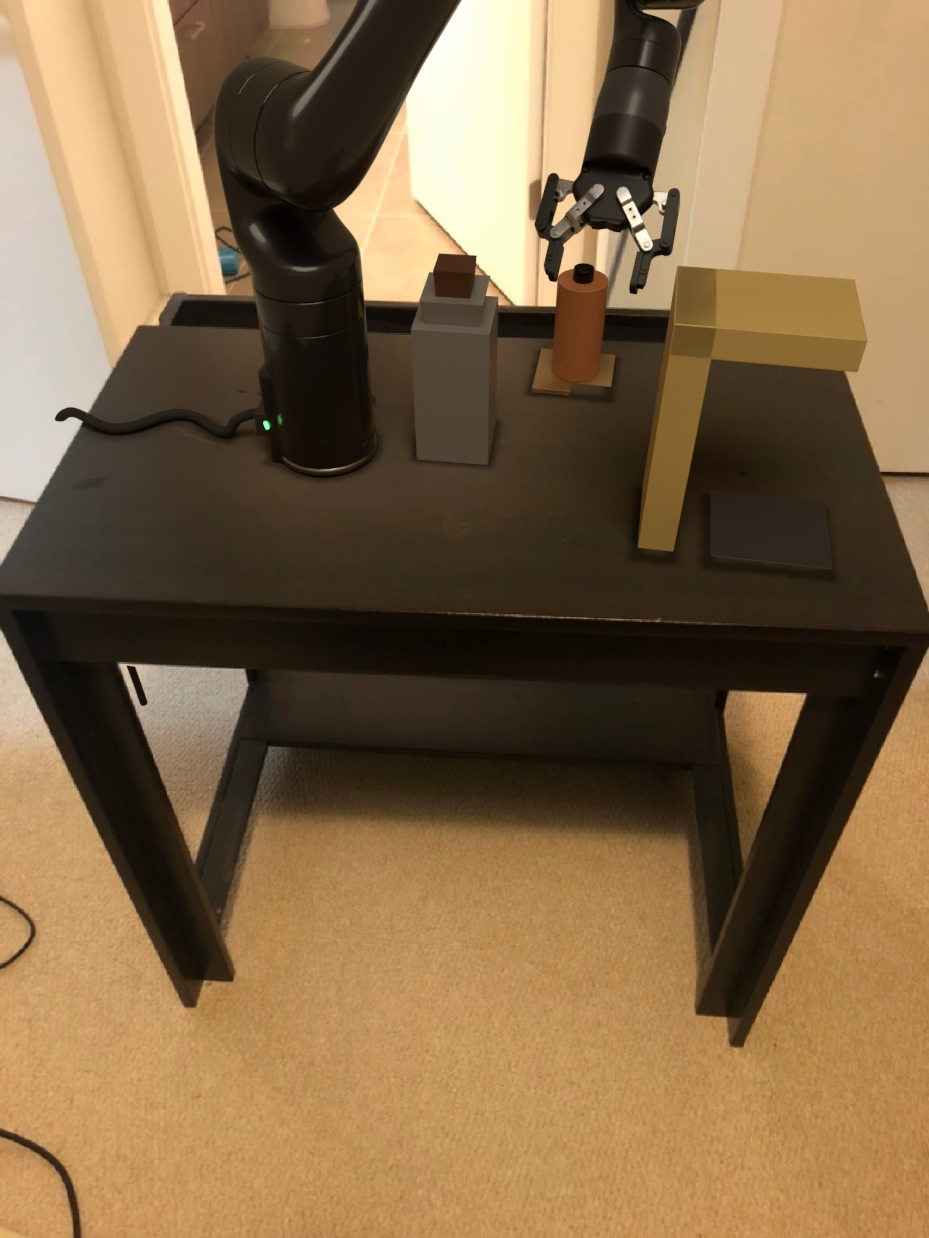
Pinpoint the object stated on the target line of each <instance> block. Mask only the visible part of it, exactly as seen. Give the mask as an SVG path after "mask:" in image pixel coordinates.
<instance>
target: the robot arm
mask: <svg viewBox="0 0 929 1238" xmlns="http://www.w3.org/2000/svg"><path fill="white" fill-rule="evenodd" d="M461 2H463V0H356V3H355V5H354V7H353V9H352V11H351V13H350V14H349V17H348V18H347V19H346V21H345V23H344V24H343V26H342V28H341V29H340V31H339V33H338V34H337V36H336V37H335V39H334V41H333V42H332V44H331V45H330V47H329V48H328V50H327V51H326V53H324V56H322V58H321V59H320V60H319V61H318V63H317V64H316V65H315V66H314V68H313V69H310V68H307V67H304V66H302V65H299V64H296V63H294V62H292V61H288V60H285V59H282V58H279V57H276V56H267V55H258V56H252V57H249V58H246V59H245V60H243V61H240V62H239V63H237V64H236V65H235V66H234V67H233V68H231V70H229V72H228V73H227V74H226V76H225V78H224V79H223V80H222V83H221V84H220V87H219V89H218V92H217V95H216V98H215V103H214V107H213V108H214V109H213V121H212V123H213V124H212V128H213V130H212V131H213V143H214V151H215V155H216V161H217V167H218V172H219V176H220V177H219V178H220V181H221V182H220V183H221V186H222V191H223V195H224V200H225V204H226V209H227V212H228V218H229V222H230V226H231V227H230V228H231V232H232V234H233V238H234V242H235V244H236V247H237V249H238V250H239V253H240V255H241V256H242V258H243V260H244V261H245V263H246V265H247V267H248V271H249V276H250V281H251V286H252V291H253V292H252V293H253V297H254V298H253V299H254V304H255V310H256V316H257V322H258V328H259V335H260V339H261V340H260V341H261V346H262V352H263V353H262V354H263V359H264V361H263V363H262V364H261V366H260V368H259V369H258V373H257V377H258V384H259V389H260V395H261V400H260V402H259V404H258V405H257V407H254V408H250V409H246V410H242V411H240V412H238V413H236V414H233V416H231V417H230V418H229V421H228V422H227V424H226V425H225V426H222V425H221V426H220V425H218V424H216V423H215V422H213V421H212V420H211V419H209V417H207V416H205V415H204V414H202V413H200V412H198V411H195V410H191V409H187V408H172V409H166V410H162V411H159V412H156V413H155V412H154V413H153V414H150V415H146V416H144V417H142V418H139V419H135V420H132V421H131V420H130V421H128V422H127V421H126V422H109V421H105V420H102V419H100V418H98V417H96V416H94V415H92V414H90V413H88V411H87V412H86V411H85V410H83V409H80V408H77V407H73V406H68V407H65V408H63V409H61V410H59V411H58V412H57V413H56V414H55V417H54V421H56V422H59V423H60V422H66V421H67V420H68V419H69V418H74V419H77V420H79V421H81V422H83V423H84V424H86V425H88V426H90V427H92V428H94V429H96V430H99V431H102V432H105V433H110V434H127V433H132V432H136V431H140V430H143V429H146V428H149V427H152V426H154V425H157V424H161V423H163V422H166V421H171V420H181V419H183V420H190V421H192V422H195V423H196V424H198V425H200V426H201V427H202V428H203V429H205V430H206V431H207V432H209V433H210V434H212V435H215V436H216V437H221V438H227V437H231V436H232V435H234V434H236V432H237V429H238V428H239V426H240V425H241V424H243V423H245V422H247V421H251V420H254V423H255V424H254V425H255V430H256V435H257V436H265V437H268V440H269V447H270V452H271V458H272V461H273V462H280V463H283V464H284V465H286V466H287V467H288V468H289V469H292V470H293V471H295V472H297V473H300V474H304V475H307V476H308V475H309V476H315V477H331V476H338V475H342V474H346V473H349V472H352V471H355V470H357V469H359V468H361V467H362V466H364V465H365V464H366V463H368V462H369V461H370V460H372V458H373V456H374V455H375V453H376V452H377V448H378V447H377V446H378V440H377V439H378V438H377V434H376V423H375V415H374V407H375V408H377V398H376V397H375V396H374V395H373V388H372V377H371V376H372V375H371V364H370V363H371V362H370V352H369V351H370V350H369V339H368V329H367V328H368V326H367V325H368V324H367V315H366V314H367V313H366V302H365V290H364V277H363V268H362V267H363V266H362V256H361V249H360V245H359V243H358V240H357V239H356V237H355V236H354V234H353V233H352V232H351V230H350V229H349V228H348V227H347V226H346V224H344V222H343V221H342V220H341V218H340V217H339V215H338V214H337V212H336V211H335V208H336V207H339V206H340V205H342V204H343V203H344V202H346V201H347V199H349V198H350V197H351V196H352V195H353V193H355V192H356V190H357V189H358V187H360V185H361V183H362V182H363V181H364V180H365V177H366V176H367V175H368V172H370V169H371V167H372V166H373V164H374V161H375V160H376V158H377V157H378V155H379V153H380V151H381V149H382V147H383V145H384V143H385V141H386V139H387V137H388V135H389V133H390V131H391V130H392V127H393V125H394V123H395V122H396V119H397V117H398V115H399V113H400V111H401V109H402V107H403V105H404V103H405V101H406V99H407V98H408V95H409V93H410V92H411V90H412V87H413V85H414V83H415V81H416V79H417V78H418V76H419V73H420V72H421V70H422V68H423V66H424V64H425V63H426V61H427V59H428V58H429V56H430V54H431V53H432V51H433V49H434V48H435V46H436V44H437V42H438V41H439V39H440V38H441V36H442V34H443V33H444V31H445V30H446V28H447V26H448V25H449V23H450V21H451V19H452V17H453V16H454V15H455V13H456V11H457V9H458V8H459V6H460V5H461V4H462V3H461ZM704 2H706V0H613V26H612V39H611V45H610V50H609V54H608V60H607V64H606V69H605V73H604V78H603V81H602V85H601V87H600V89H599V92H598V95H597V98H596V102H595V105H594V110H593V115H592V119H591V123H590V127H589V133H588V137H587V140H586V145H585V150H584V155H583V159H582V164H581V168H580V172H579V174H578V176H577V177H576V178H575V179H574V180H570V179H564V178H560V177H559V175H558V174H557V172H552V173H551V172H550V174H548V176H547V177H546V182H545V185H544V188H543V193H542V196H541V200H540V203H539V205H538V209H537V213H536V217H535V220H534V228H535V230H536V234H537V236H538V238H539V239H542V240H546V241H548V243H547V249H546V253H545V258H544V261H543V270H544V273H545V275H546V276H547V279H548V280H549V282H551V283H557V280H558V276H559V275H560V270H561V265H562V261H563V256H564V252H565V247H564V245H565V244H566V243H567V242H568V241H569V240H570V239H572V237H573V236H575V235H578V234H580V232H582V231H583V230H584V229H585V228H586V227H587V226H589V227H590V228H591V230H598V231H601V230H608V231H610V232H613V233H620V234H621V233H622V232H623V231H626V230H628V231H629V233H630V236H631V237H632V240H633V241H634V243H635V244H636V247H637V248H638V250H639V251H637V250H636V255H635V259H634V263H633V268H632V273H631V276H630V280H629V287H628V290H629V294H630V295H638V292H639V290H644V288H645V287H646V285H647V281H648V277H649V272H650V267H651V265H652V261H653V260H654V258H656V257H659V256H663V257H669V256H671V254H672V253H673V250H674V245H675V238H676V233H677V232H676V231H677V226H678V220H679V215H680V214H679V213H680V207H681V192H680V190H679V189H678V187H677V188H676V187H672V188H670V189H669V190H668V191H660V190H659V191H658V190H654V187H653V185H654V180H655V176H656V173H657V168H658V163H659V159H660V154H661V151H662V150H661V149H662V145H663V142H664V141H663V140H664V138H665V136H666V133H667V128H668V126H667V125H668V119H669V113H670V105H671V95H672V89H673V86H674V81H675V76H676V72H677V69H678V63H679V59H680V54H681V49H682V38H681V34H680V31H679V30H678V28H677V27H676V25H674V24H673V23H671V22H670V21H668V20H667V19H665V18H662V17H660V16H657V15H654V14H649V13H646V12H644V11H687V10H692V9H693V10H694V9H696V8H698V7H700V6H701V5H702V4H703V3H704ZM571 194H572V196H573V198H574V200H575V204H573V205H572V206H571V208H569V209H568V210H567V211H566V212H565V213H564V216H563V217H562V218H561V220H559V221H558V222H557V223H556V224H555V225H553V222H554V219H555V215H556V212H557V208H558V205H559V203H563V202H564V201H565V200H566V197H567V196H569V195H571ZM654 205H656V206H657V207H658V208H657V209H658V214H659V215H660V216H662V217H663V220H662V225H661V231H660V238H655V239H652V237H651V236H650V234H649V232H648V230H647V228H646V225H645V222H644V219H642V216H643V215H645V213H647V211H649V210H650V209H651V208H652V206H654ZM126 669H127V671H128V672H127V673H128V674H129V677H130V680H131V682H132V685H133V688H134V691H135V694H136V697H137V700H138V702H139V705H140V706H141V707H146V706H147V705H148V703H149V702H148V699H147V696H146V693H145V690H144V688H143V685H142V682H141V679H140V676H139V673H138V671H137V667H136V666H135V665H134V666H133V665H126Z"/></svg>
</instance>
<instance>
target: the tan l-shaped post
mask: <svg viewBox="0 0 929 1238" xmlns="http://www.w3.org/2000/svg"><path fill="white" fill-rule="evenodd" d="M675 271H676V272H675V278H674V284H673V290H672V296H671V303H670V309H669V315H668V320H667V321H668V322H667V329H666V335H665V340H664V347H663V353H662V358H661V359H662V360H661V367H660V373H659V378H658V379H659V380H658V385H657V391H656V396H655V397H656V398H655V404H654V409H653V410H654V411H653V418H652V423H651V428H650V430H651V431H650V436H649V441H648V449H647V456H646V460H645V466H644V467H645V468H644V473H643V474H644V475H643V481H642V489H641V502H640V513H639V524H638V525H639V526H638V538H637V548H639V549H646V550H654V551H655V550H656V551H664V552H674V551H675V546H676V540H677V536H678V532H679V531H678V530H679V527H680V525H679V524H680V520H681V516H682V510H683V505H684V501H685V500H684V499H685V495H686V490H687V484H688V480H689V475H690V470H691V466H692V465H691V464H692V459H693V454H694V450H695V445H696V438H697V435H698V429H699V424H700V419H701V414H702V409H703V403H704V398H705V392H706V389H707V384H708V378H709V373H710V368H711V363H712V361H713V360H714V361H726V362H737V363H748V364H759V365H760V364H761V365H771V366H781V367H794V368H804V369H805V368H806V369H814V370H815V369H817V370H826V371H838V372H849V373H858V372H859V369H860V367H861V363H862V359H863V356H864V354H865V350H866V347H867V344H868V336H867V330H866V326H865V321H864V317H863V313H862V307H861V304H860V297H859V294H858V289H857V285H856V280H855V279H853V278H840V277H829V276H828V277H827V276H815V275H804V274H803V275H802V274H791V273H790V274H788V273H777V272H766V271H765V272H763V271H752V270H751V271H750V270H736V269H725V268H724V269H723V268H711V267H701V266H685V265H677V266H676V270H675ZM709 493H710V495H709V496H710V498H709V499H710V503H709V504H710V505H709V506H710V509H709V512H710V513H709V531H710V532H709V556H711V557H719V558H727V559H736V560H745V561H753V562H761V563H770V564H777V565H778V564H780V565H788V566H789V565H790V566H797V567H805V568H814V569H824V570H831V571H832V570H834V563H833V557H832V549H831V548H832V547H831V540H830V532H829V524H828V516H827V515H828V514H827V509H826V501H819V500H810V499H809V500H808V499H799V498H791V497H790V498H789V497H782V496H781V497H780V496H770V495H762V494H751V493H743V492H734V491H723V490H715V489H711V490H710V492H709Z"/></svg>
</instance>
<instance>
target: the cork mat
mask: <svg viewBox="0 0 929 1238" xmlns="http://www.w3.org/2000/svg"><path fill="white" fill-rule="evenodd" d="M552 353H553V348H541V349H540V352H539V357H538V362H537V364H536V368H535V369H536V370H535V374H534V376H533V377H534V378H533V381H532V386H531V393H532V394H543V395H554V396H562V397H563V396H565V397H571V391H572V386H573V384H576V385H587V386H597V387H607V388H612V384H613V377H614V372H615V371H614V370H615V362H616V354H610V353H601V359H600V369H599V373H598V375H597V376H596V377H595V378H593V379H592V380H589V381H585V382H569V381H565V380H562V379H560V378H558V377H556V376H555V375H554V374H553V372H552V369H551V368H552Z"/></svg>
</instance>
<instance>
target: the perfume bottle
mask: <svg viewBox="0 0 929 1238" xmlns="http://www.w3.org/2000/svg"><path fill="white" fill-rule="evenodd" d="M476 270H477V255H476V254H475V255H474V254H456V253H443V252H441V253H439V252H438V255H437V257H436V261H435V264H434V267H433V270H432V271H428V275H427V277H426V280H425V283H424V286H423V289H422V292H421V295H420V296H419V300H418V308H417V309H416V313H415V315H414V319H413V322H412V325H411V327H410V341H411V344H410V345H411V362H412V364H411V365H412V385H413V405H414V406H413V407H414V424H415V425H414V427H415V429H414V430H415V442H416V443H415V448H416V449H415V450H416V460H417V461H431V462H441V463H442V462H444V463H453V464H454V463H457V464H467V465H468V464H470V465H481V466H488V465H489V460H490V455H491V451H492V445H493V441H494V435H495V430H496V426H497V386H498V385H497V384H498V381H497V380H498V379H497V378H498V339H499V338H498V336H499V335H498V334H499V330H498V329H499V296H494V295H487V292H488V289H489V285H490V284H489V283H490V279H491V275H486V274H476Z"/></svg>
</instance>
